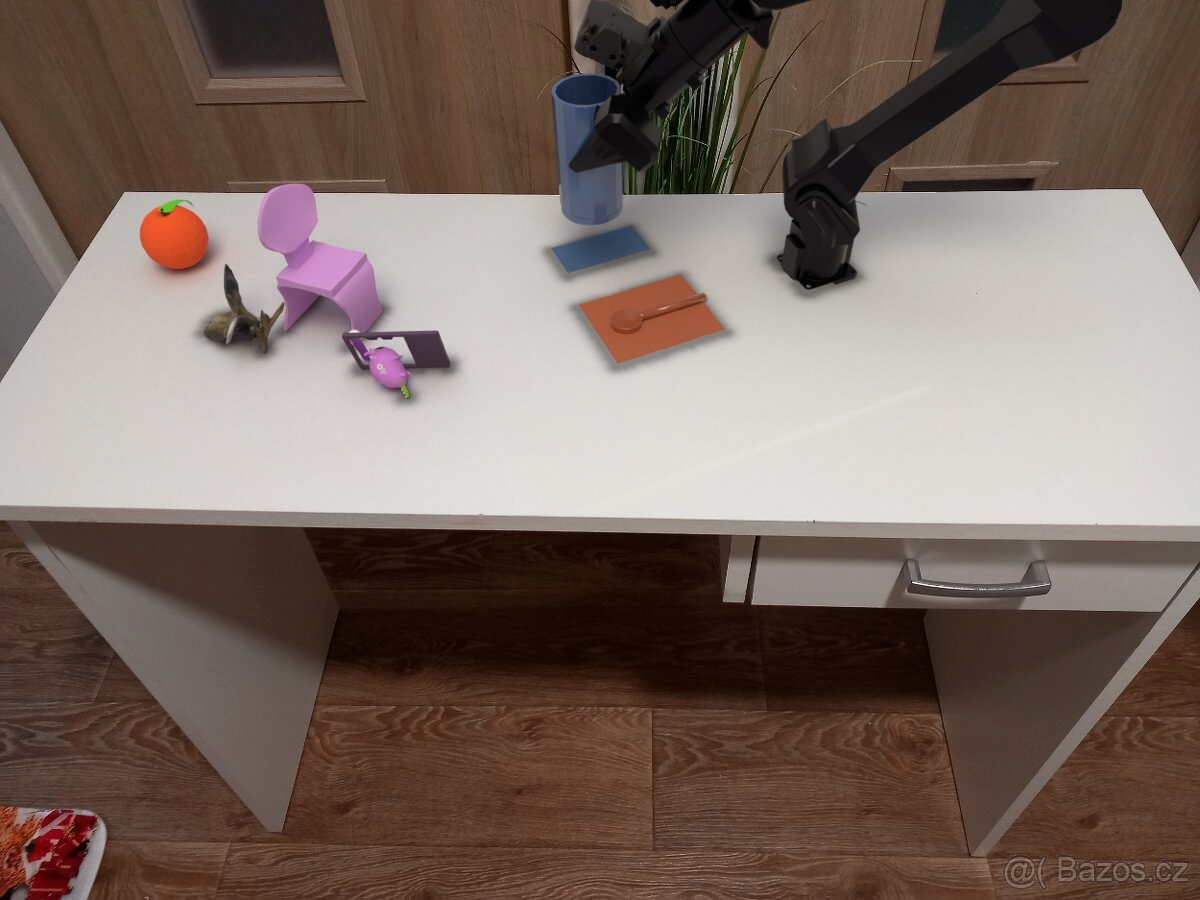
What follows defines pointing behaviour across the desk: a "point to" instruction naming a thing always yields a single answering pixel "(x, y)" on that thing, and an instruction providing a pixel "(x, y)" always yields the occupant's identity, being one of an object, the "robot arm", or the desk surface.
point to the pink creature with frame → (387, 361)
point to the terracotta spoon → (648, 314)
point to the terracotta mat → (651, 319)
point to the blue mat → (600, 249)
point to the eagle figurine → (240, 317)
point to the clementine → (174, 236)
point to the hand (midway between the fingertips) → (576, 150)
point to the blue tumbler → (573, 111)
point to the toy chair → (314, 260)
